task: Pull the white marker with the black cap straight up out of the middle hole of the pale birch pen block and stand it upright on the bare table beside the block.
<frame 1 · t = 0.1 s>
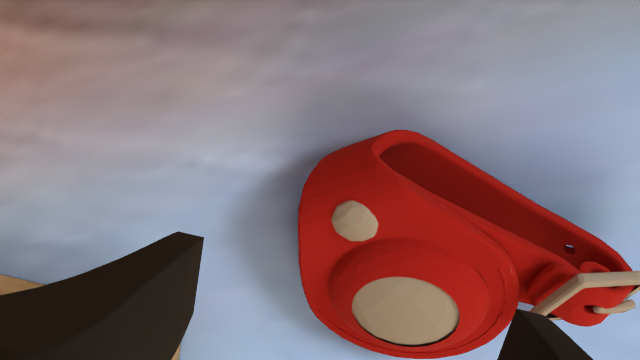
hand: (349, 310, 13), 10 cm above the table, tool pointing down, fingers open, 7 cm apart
pen block: (24, 333, 27), on the table
red curved piece: (447, 254, 24), on the table
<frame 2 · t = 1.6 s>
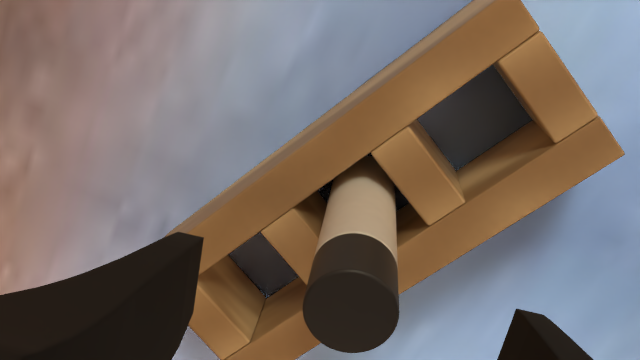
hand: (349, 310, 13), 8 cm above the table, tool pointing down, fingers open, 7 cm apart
marker: (358, 234, 17), in a hole of the pen block
pen block: (363, 184, 21), on the table
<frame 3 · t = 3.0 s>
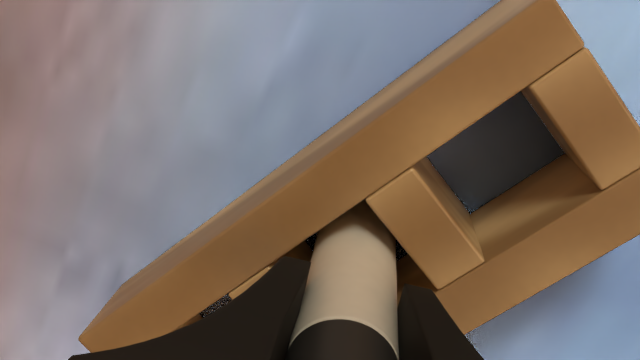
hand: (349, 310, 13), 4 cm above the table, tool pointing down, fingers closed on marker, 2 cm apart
marker: (348, 305, 14), in a hole of the pen block, touching gripper
pen block: (357, 228, 17), on the table
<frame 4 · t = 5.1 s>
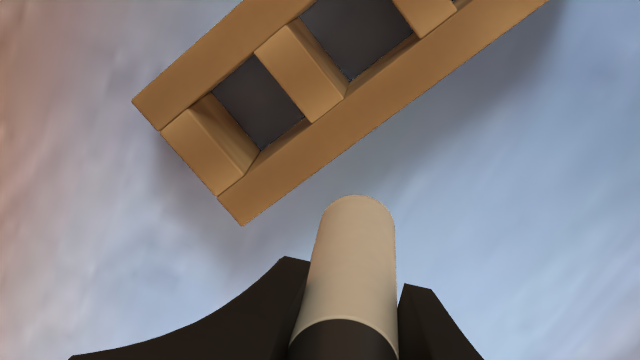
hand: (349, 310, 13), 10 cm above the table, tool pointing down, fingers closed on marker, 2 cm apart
marker: (348, 304, 14), point 10 cm above the table, touching gripper
pen block: (357, 23, 21), on the table
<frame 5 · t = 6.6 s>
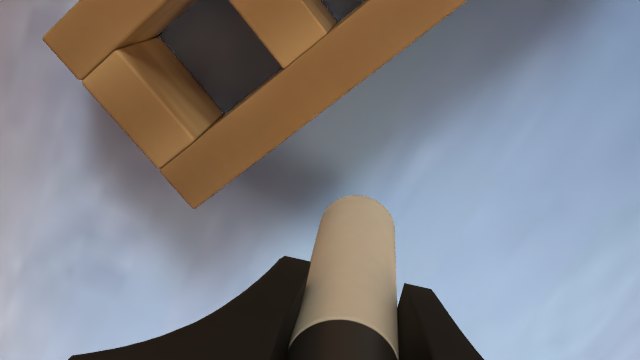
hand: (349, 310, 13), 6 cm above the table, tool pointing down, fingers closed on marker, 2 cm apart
marker: (348, 305, 14), point 6 cm above the table, touching gripper
when the fingers open (4 cm above the table, at t = 7.3 s): marker stays where it is, on the table.
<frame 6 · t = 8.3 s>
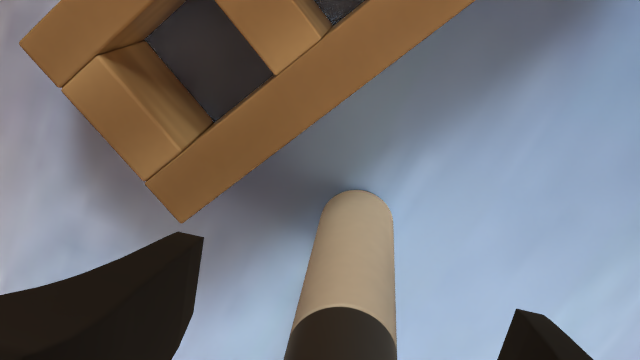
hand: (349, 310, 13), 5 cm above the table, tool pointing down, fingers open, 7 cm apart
marker: (348, 295, 14), on the table
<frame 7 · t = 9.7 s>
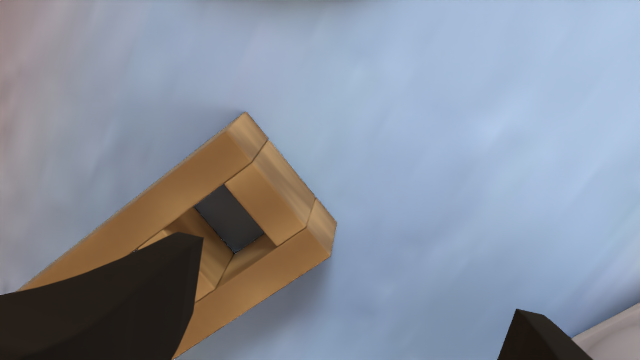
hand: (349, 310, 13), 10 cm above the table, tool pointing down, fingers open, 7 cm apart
pen block: (162, 262, 26), on the table
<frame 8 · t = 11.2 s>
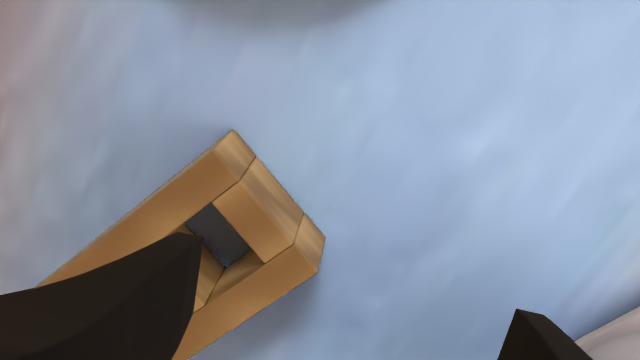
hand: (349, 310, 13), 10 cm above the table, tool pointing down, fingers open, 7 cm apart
pen block: (154, 277, 26), on the table
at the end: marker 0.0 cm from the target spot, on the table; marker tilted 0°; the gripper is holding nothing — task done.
